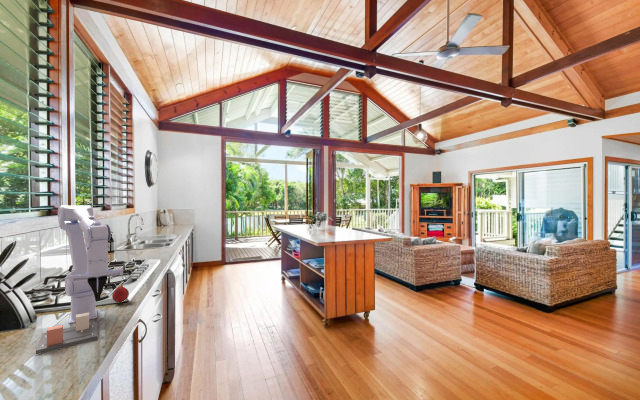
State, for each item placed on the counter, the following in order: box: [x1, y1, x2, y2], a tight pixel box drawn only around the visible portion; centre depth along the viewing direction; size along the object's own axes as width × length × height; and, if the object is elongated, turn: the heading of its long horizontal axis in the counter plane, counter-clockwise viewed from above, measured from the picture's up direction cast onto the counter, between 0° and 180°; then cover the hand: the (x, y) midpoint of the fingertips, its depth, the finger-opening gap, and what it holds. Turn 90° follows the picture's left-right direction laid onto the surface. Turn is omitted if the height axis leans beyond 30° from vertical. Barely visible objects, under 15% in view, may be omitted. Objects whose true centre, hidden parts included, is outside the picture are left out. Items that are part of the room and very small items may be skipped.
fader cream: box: [75, 313, 90, 331], centre depth 95 cm, size 3×3×5 cm
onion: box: [111, 284, 130, 303], centre depth 121 cm, size 6×6×8 cm
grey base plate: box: [35, 321, 98, 355], centre depth 91 cm, size 13×14×1 cm
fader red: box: [46, 324, 64, 346], centre depth 86 cm, size 3×3×5 cm
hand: (97, 298), depth 98 cm, fingers closed
